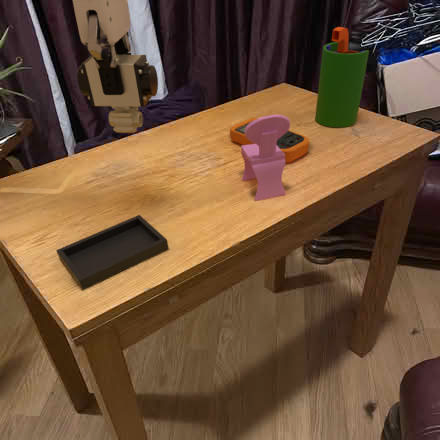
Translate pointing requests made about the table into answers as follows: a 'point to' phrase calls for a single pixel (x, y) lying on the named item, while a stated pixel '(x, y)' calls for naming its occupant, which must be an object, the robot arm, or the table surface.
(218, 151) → the table surface
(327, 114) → the green cylindrical container
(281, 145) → the multimeter
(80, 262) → the black tray
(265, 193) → the toy chair
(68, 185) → the table surface
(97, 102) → the pneumatic valve
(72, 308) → the table surface
